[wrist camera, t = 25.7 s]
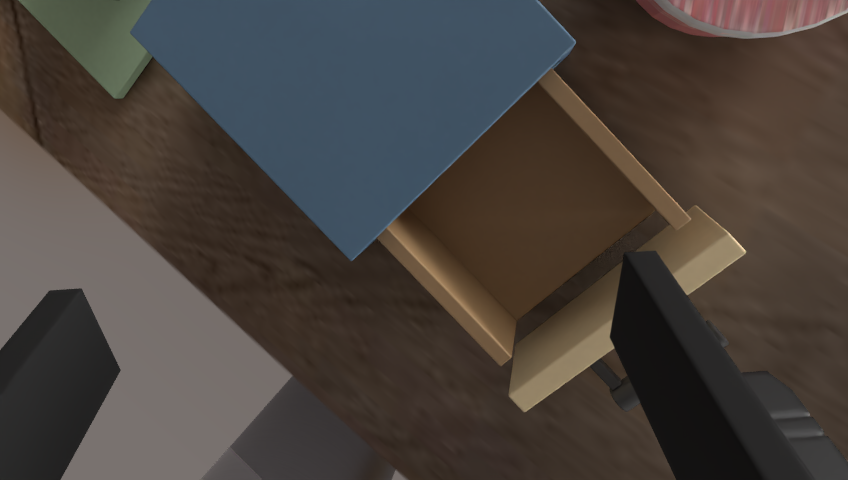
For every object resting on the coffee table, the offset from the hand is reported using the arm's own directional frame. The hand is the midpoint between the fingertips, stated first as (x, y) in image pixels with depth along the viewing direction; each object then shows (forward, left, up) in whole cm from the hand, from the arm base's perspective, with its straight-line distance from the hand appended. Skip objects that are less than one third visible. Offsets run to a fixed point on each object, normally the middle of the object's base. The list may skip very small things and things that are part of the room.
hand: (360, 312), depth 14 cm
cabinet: (+2, +9, -19) cm, 21 cm away
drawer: (+2, -5, -18) cm, 19 cm away
